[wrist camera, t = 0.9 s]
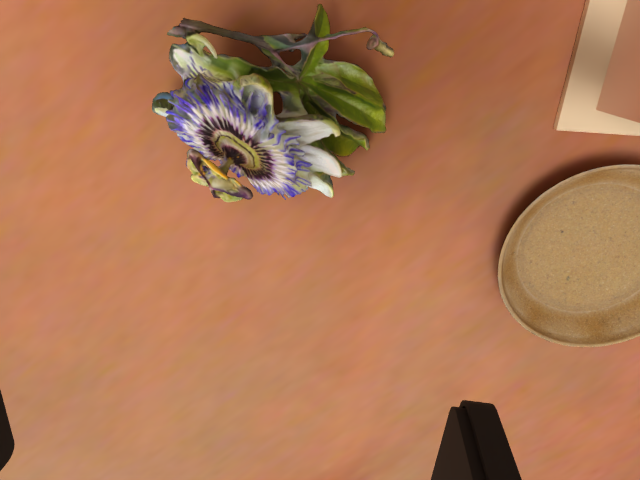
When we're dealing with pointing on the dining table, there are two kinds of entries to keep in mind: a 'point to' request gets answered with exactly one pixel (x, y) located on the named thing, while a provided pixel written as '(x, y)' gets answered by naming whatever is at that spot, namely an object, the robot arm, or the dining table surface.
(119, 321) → the dining table surface
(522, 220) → the plant saucer
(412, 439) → the dining table surface
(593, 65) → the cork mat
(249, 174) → the passion flower
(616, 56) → the tile
